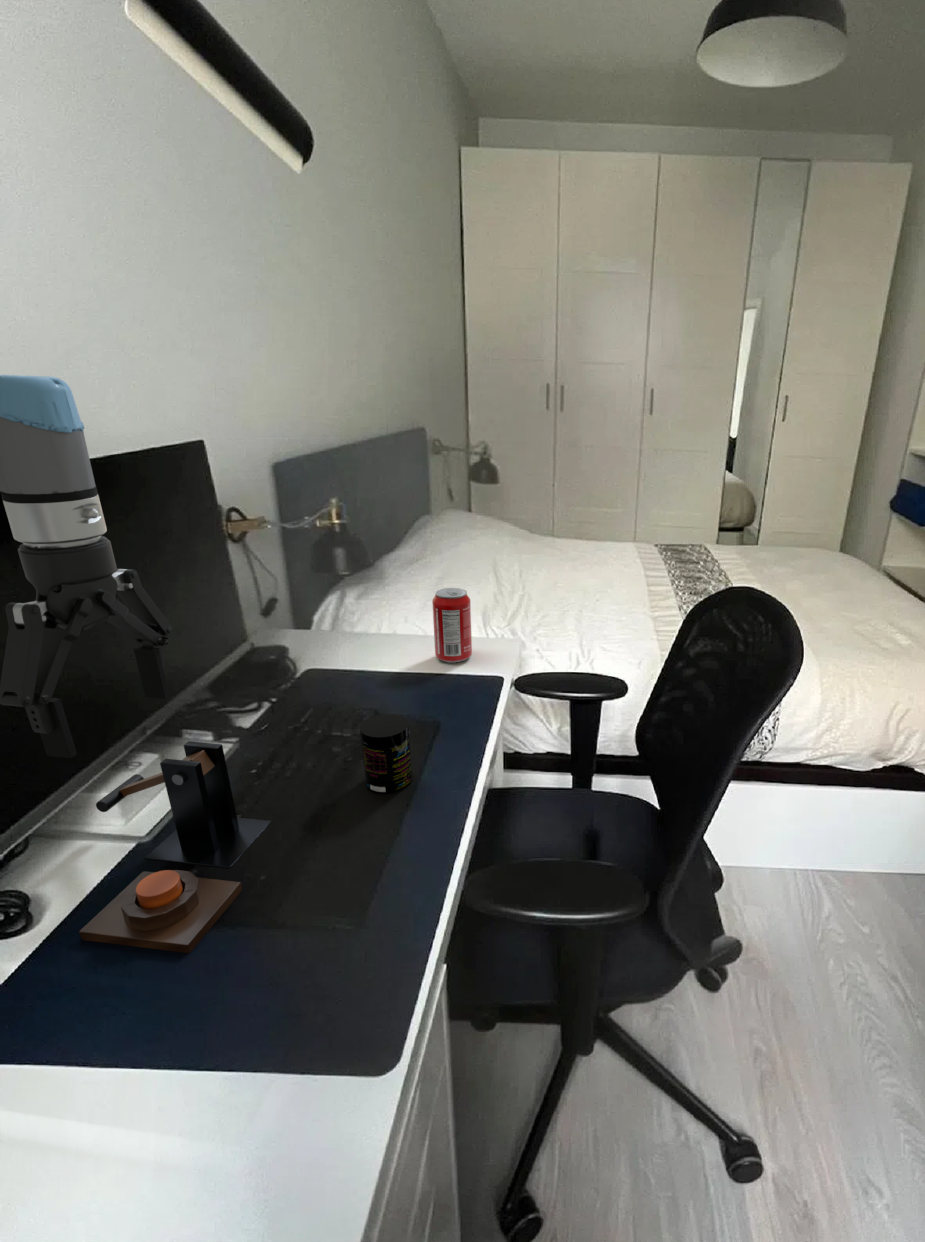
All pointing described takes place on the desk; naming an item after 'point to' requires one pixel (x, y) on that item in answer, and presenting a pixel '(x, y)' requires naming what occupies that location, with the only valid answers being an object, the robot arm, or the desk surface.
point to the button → (159, 889)
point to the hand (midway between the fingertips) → (114, 723)
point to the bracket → (204, 813)
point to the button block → (163, 915)
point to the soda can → (452, 625)
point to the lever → (146, 782)
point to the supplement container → (386, 753)
